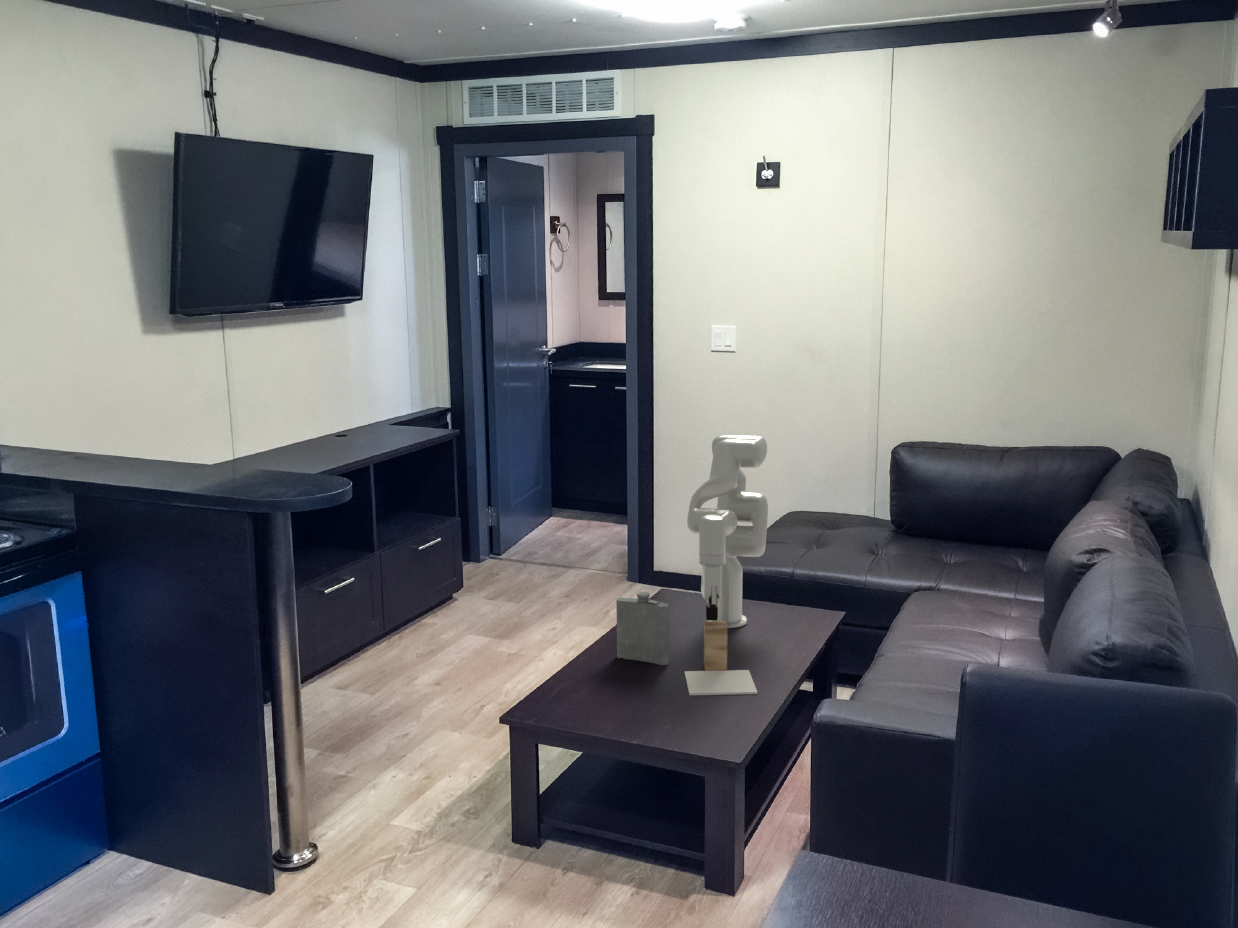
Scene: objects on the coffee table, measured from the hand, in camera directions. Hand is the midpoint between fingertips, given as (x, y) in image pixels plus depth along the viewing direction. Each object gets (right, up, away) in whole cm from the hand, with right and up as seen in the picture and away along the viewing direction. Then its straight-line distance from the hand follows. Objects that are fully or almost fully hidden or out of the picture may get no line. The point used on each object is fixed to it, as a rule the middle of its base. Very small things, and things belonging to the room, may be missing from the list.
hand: (711, 619), depth 305 cm
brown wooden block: (0, -13, -7) cm, 14 cm away
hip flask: (-20, -12, 0) cm, 23 cm away
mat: (+1, -15, -18) cm, 23 cm away
